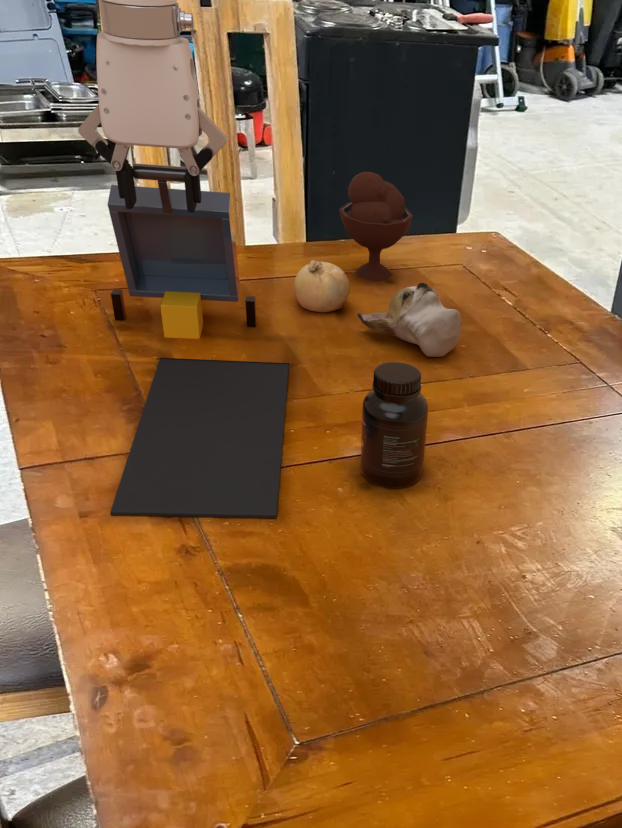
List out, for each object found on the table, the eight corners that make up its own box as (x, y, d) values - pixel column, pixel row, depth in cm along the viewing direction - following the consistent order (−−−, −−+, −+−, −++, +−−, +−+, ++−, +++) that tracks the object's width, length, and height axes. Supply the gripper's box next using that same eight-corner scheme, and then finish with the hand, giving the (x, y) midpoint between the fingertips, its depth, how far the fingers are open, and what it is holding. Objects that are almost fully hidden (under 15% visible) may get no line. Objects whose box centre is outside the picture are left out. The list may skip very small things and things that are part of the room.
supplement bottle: (360, 454, 100) (363, 355, 92) (420, 457, 100) (429, 358, 92) (360, 488, 94) (363, 386, 87) (423, 491, 95) (433, 390, 87)
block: (160, 304, 113) (165, 290, 116) (164, 338, 115) (169, 323, 119) (196, 306, 113) (200, 292, 117) (199, 340, 116) (203, 325, 119)
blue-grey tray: (239, 283, 120) (237, 309, 118) (132, 277, 118) (128, 303, 116) (225, 148, 103) (223, 175, 101) (100, 139, 101) (94, 166, 99)
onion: (296, 294, 131) (295, 246, 126) (350, 298, 132) (351, 250, 127) (292, 317, 125) (290, 267, 120) (348, 321, 126) (349, 271, 121)
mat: (110, 515, 87) (110, 512, 87) (169, 330, 118) (169, 328, 118) (276, 518, 89) (276, 515, 89) (291, 336, 120) (291, 333, 120)
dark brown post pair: (256, 331, 121) (254, 301, 118) (115, 324, 118) (110, 293, 115) (256, 326, 122) (255, 296, 119) (117, 319, 119) (112, 288, 117)
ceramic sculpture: (426, 306, 110) (352, 272, 119) (423, 372, 115) (353, 335, 124) (487, 291, 116) (413, 260, 124) (481, 354, 121) (411, 320, 130)
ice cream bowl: (380, 293, 134) (385, 189, 125) (324, 272, 139) (324, 169, 129) (422, 275, 141) (429, 175, 131) (367, 256, 146) (370, 157, 136)
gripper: (230, 23, 94) (241, 201, 105) (59, 8, 91) (89, 192, 103) (224, 36, 88) (236, 222, 100) (41, 20, 86) (76, 213, 97)
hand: (161, 205), depth 101 cm, fingers closed on blue-grey tray, 6 cm apart
